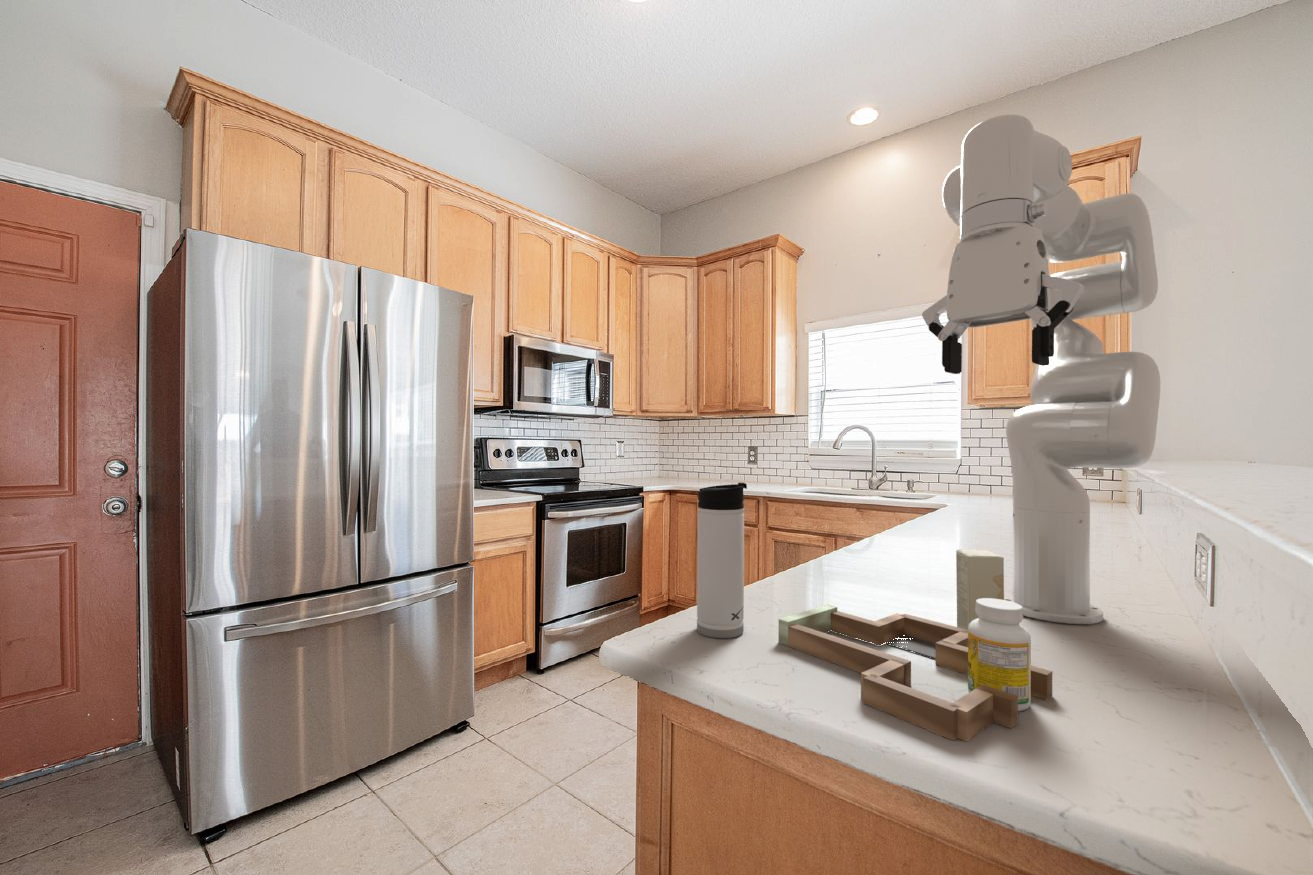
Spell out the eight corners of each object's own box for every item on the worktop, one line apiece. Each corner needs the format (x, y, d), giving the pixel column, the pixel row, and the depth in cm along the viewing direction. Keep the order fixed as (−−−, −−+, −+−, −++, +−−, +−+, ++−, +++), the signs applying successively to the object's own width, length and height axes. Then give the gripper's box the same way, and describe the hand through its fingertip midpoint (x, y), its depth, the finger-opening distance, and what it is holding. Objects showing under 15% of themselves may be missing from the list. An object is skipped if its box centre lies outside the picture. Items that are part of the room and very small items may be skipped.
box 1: (853, 617, 81) (853, 596, 81) (1072, 679, 60) (1072, 652, 60) (744, 653, 67) (744, 628, 67) (981, 752, 46) (981, 715, 46)
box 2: (1005, 644, 70) (1005, 557, 71) (968, 641, 71) (968, 555, 71) (989, 630, 76) (989, 549, 76) (955, 628, 76) (955, 548, 77)
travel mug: (749, 639, 72) (750, 484, 72) (698, 638, 72) (699, 484, 72) (742, 623, 78) (743, 481, 78) (695, 623, 78) (696, 481, 78)
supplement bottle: (1022, 718, 51) (1022, 615, 52) (959, 699, 55) (960, 602, 55) (1037, 700, 55) (1037, 603, 55) (977, 683, 59) (977, 593, 59)
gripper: (1094, 212, 62) (1093, 364, 62) (939, 254, 76) (937, 378, 76) (1070, 192, 58) (1069, 356, 57) (910, 240, 72) (908, 372, 71)
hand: (994, 368), depth 67 cm, fingers open, 9 cm apart
